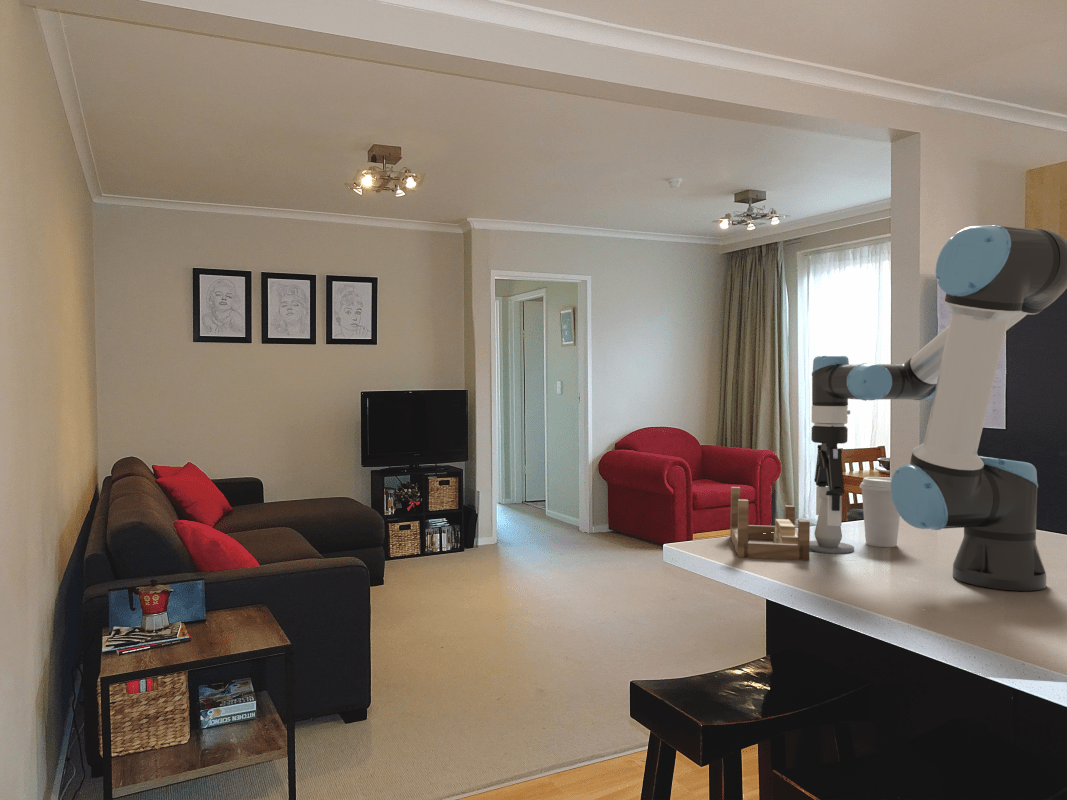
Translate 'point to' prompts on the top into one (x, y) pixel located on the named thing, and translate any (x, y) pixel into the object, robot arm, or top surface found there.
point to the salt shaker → (823, 532)
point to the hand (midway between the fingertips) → (828, 520)
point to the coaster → (840, 549)
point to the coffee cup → (879, 512)
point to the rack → (765, 550)
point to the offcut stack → (785, 532)
